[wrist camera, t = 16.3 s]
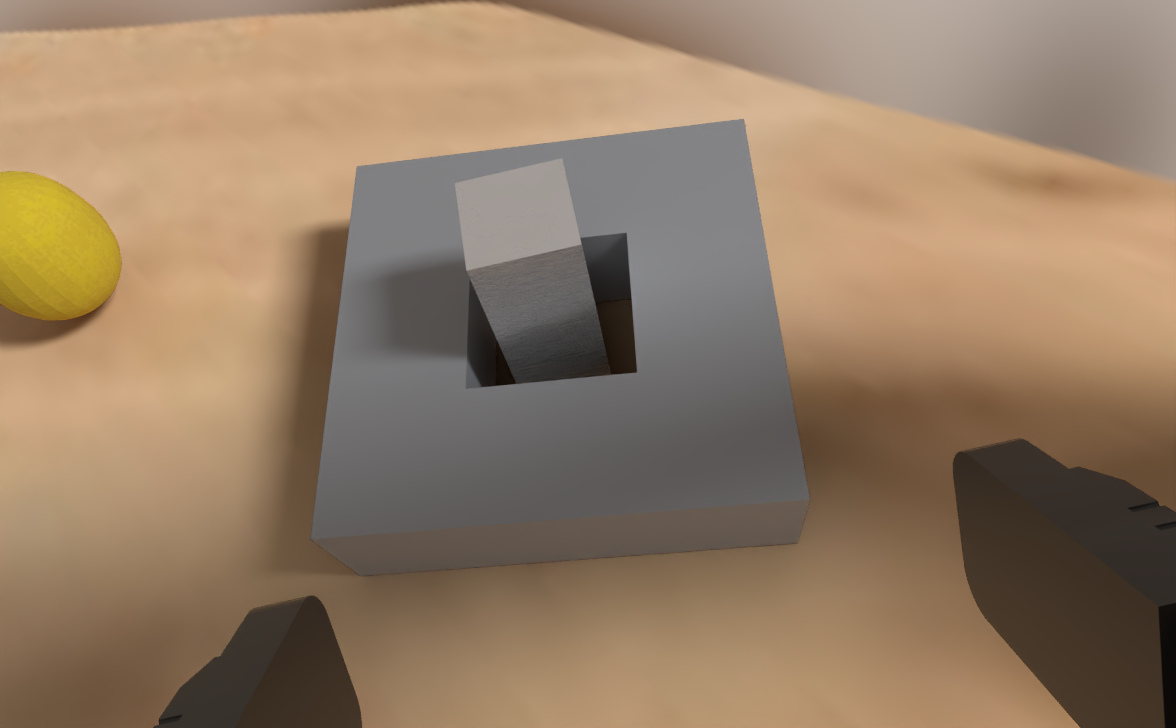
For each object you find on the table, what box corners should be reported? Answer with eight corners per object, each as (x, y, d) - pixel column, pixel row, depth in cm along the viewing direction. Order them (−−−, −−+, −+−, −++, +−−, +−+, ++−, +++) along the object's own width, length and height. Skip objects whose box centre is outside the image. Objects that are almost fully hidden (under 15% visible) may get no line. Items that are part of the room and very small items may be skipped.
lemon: (179, 281, 40) (66, 163, 33) (90, 371, 38) (-51, 267, 31) (106, 235, 42) (-15, 115, 35) (18, 319, 40) (-129, 210, 33)
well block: (740, 192, 38) (743, 118, 34) (797, 543, 30) (809, 499, 26) (392, 232, 39) (356, 166, 36) (360, 576, 32) (310, 539, 28)
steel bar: (599, 323, 36) (562, 158, 27) (615, 395, 34) (581, 244, 25) (518, 341, 36) (454, 183, 27) (530, 415, 34) (466, 270, 25)
